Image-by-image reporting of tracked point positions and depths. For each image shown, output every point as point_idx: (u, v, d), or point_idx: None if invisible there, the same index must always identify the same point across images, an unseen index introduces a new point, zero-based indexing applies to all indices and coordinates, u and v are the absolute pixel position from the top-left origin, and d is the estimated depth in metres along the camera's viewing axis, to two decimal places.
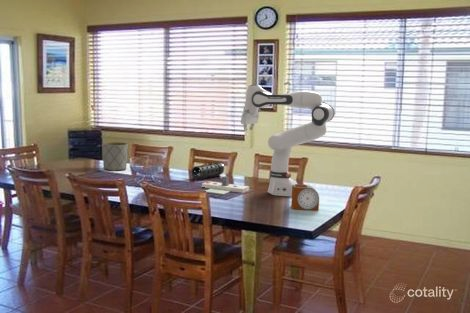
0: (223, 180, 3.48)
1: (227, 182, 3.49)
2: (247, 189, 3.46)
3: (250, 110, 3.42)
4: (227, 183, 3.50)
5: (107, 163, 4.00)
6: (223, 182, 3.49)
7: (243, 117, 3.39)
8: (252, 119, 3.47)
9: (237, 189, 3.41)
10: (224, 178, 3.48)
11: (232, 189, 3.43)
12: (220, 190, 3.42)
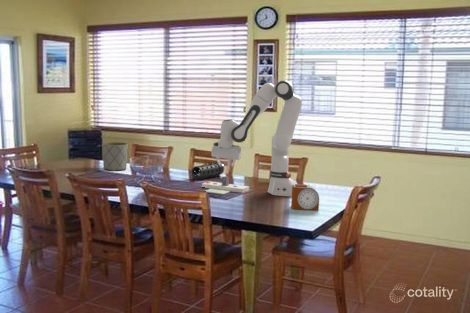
0: (223, 180, 3.48)
1: (227, 182, 3.49)
2: (247, 189, 3.46)
3: (233, 145, 3.46)
4: (227, 183, 3.50)
5: (107, 163, 4.00)
6: (223, 182, 3.49)
7: (239, 153, 3.43)
8: None
9: (237, 189, 3.41)
10: (224, 178, 3.48)
11: (232, 189, 3.43)
12: (220, 190, 3.42)
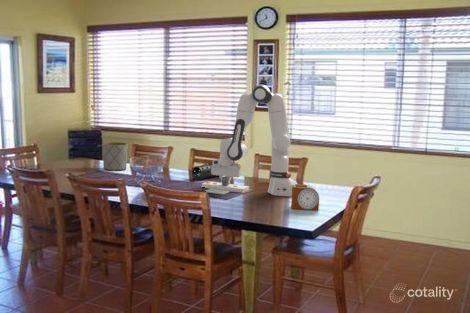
0: (223, 180, 3.48)
1: None
2: (247, 189, 3.46)
3: (232, 162, 3.48)
4: (227, 183, 3.50)
5: (107, 163, 4.00)
6: (223, 182, 3.49)
7: (239, 170, 3.45)
8: None
9: (237, 189, 3.41)
10: (224, 178, 3.48)
11: (232, 189, 3.43)
12: (220, 190, 3.42)
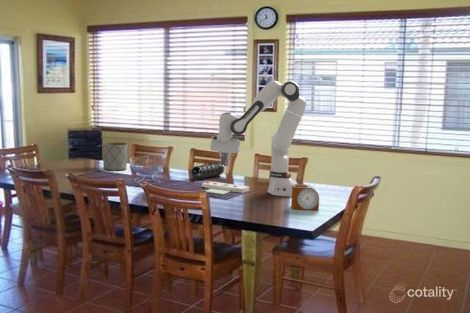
0: (222, 156, 3.44)
1: None
2: (247, 189, 3.46)
3: (232, 138, 3.44)
4: (226, 159, 3.46)
5: (107, 163, 4.00)
6: (222, 158, 3.44)
7: (238, 146, 3.40)
8: None
9: (237, 189, 3.41)
10: (223, 154, 3.44)
11: (232, 189, 3.43)
12: (220, 190, 3.42)
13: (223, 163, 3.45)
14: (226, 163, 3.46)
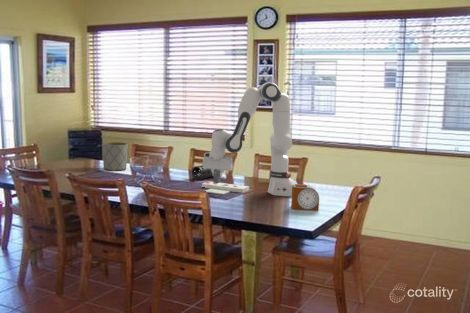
0: (215, 173, 3.37)
1: None
2: (247, 189, 3.46)
3: None
4: None
5: (107, 163, 4.00)
6: (215, 175, 3.37)
7: (231, 163, 3.33)
8: None
9: (237, 189, 3.41)
10: (216, 171, 3.36)
11: (232, 189, 3.43)
12: (220, 190, 3.42)
13: (215, 181, 3.37)
14: (219, 181, 3.38)
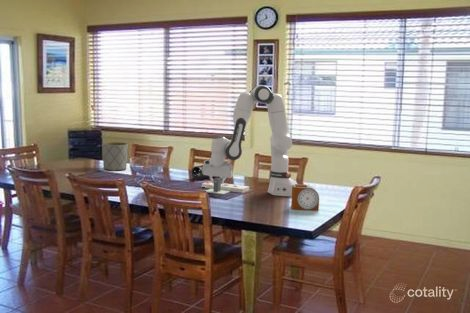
0: (215, 182, 3.38)
1: (219, 184, 3.39)
2: (247, 189, 3.46)
3: (224, 162, 3.37)
4: (219, 185, 3.39)
5: (107, 163, 4.00)
6: (215, 184, 3.38)
7: (231, 171, 3.34)
8: None
9: (237, 189, 3.41)
10: (216, 180, 3.37)
11: (232, 189, 3.43)
12: None
13: (216, 189, 3.38)
14: (219, 189, 3.39)
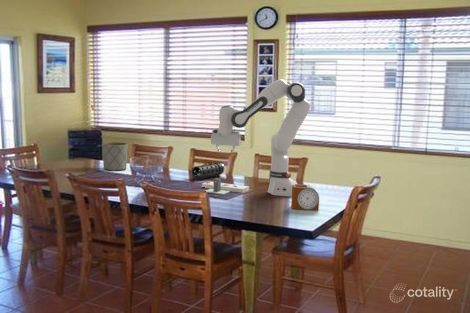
0: (215, 182, 3.38)
1: (219, 184, 3.39)
2: (247, 189, 3.46)
3: (232, 131, 3.42)
4: (219, 185, 3.39)
5: (107, 163, 4.00)
6: (215, 184, 3.38)
7: (239, 139, 3.39)
8: None
9: (237, 189, 3.41)
10: (216, 180, 3.37)
11: (232, 189, 3.43)
12: None
13: (216, 189, 3.38)
14: (219, 189, 3.39)
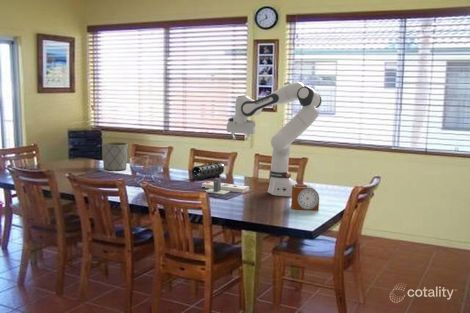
0: (215, 182, 3.38)
1: (219, 184, 3.39)
2: (247, 189, 3.46)
3: (247, 120, 3.59)
4: (219, 185, 3.39)
5: (107, 163, 4.00)
6: (215, 184, 3.38)
7: (254, 127, 3.55)
8: None
9: (237, 189, 3.41)
10: (216, 180, 3.37)
11: (232, 189, 3.43)
12: None
13: (216, 189, 3.38)
14: (219, 189, 3.39)
